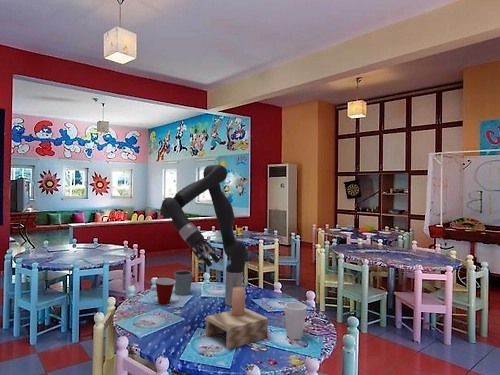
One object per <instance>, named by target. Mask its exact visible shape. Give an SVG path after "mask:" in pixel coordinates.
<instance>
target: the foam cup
mask: <svg viewBox="0 0 500 375" xmlns="http://www.w3.org/2000/svg"><path fill="white" fill-rule="evenodd" d="M307 308H308V306H307V305H306V304H305V303H302V302H295V301H292V302H286V303H284V306H283V311H284V320H285V329H286V330H285V332H286V337H287V336H288V337H289V338H291V339H290V340H292V339H299V340H301V339H302V337H303V334H304V329H305V328H304V327H305V321H306V315H307ZM288 337H287V338H288ZM289 338H288V339H289ZM300 338H301V339H300Z"/></svg>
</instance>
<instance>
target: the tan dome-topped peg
mask: <svg viewBox="0 0 500 375" xmlns="http://www.w3.org/2000/svg"><path fill="white" fill-rule="evenodd" d="M245 306H246V288H245V286H244V287H233V294H232V306H231V310H232V315H233V316H237V317H240V316H244V312H245V308H246V307H245Z"/></svg>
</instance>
